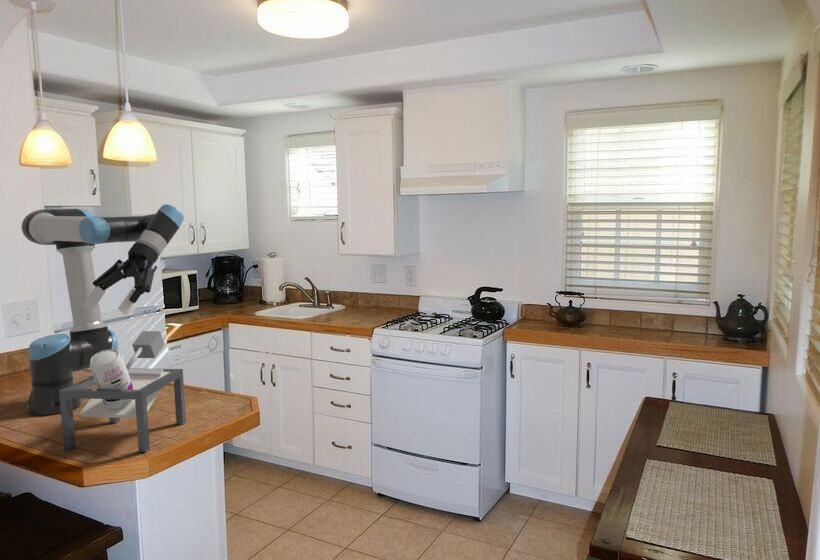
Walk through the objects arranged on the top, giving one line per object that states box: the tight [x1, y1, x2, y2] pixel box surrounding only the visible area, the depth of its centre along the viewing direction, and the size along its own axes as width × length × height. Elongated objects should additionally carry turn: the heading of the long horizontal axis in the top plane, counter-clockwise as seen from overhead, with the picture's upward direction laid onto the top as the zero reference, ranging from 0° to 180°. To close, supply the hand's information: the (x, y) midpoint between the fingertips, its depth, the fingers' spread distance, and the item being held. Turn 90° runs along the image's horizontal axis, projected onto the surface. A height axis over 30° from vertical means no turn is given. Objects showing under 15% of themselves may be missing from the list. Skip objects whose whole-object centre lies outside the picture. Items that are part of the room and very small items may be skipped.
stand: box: [59, 367, 187, 454], centre depth 173 cm, size 23×23×16 cm
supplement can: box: [89, 349, 134, 409], centre depth 166 cm, size 8×8×15 cm
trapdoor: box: [78, 330, 170, 419], centre depth 180 cm, size 18×35×5 cm, turn 174°
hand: (104, 309), depth 164 cm, fingers open, 13 cm apart
